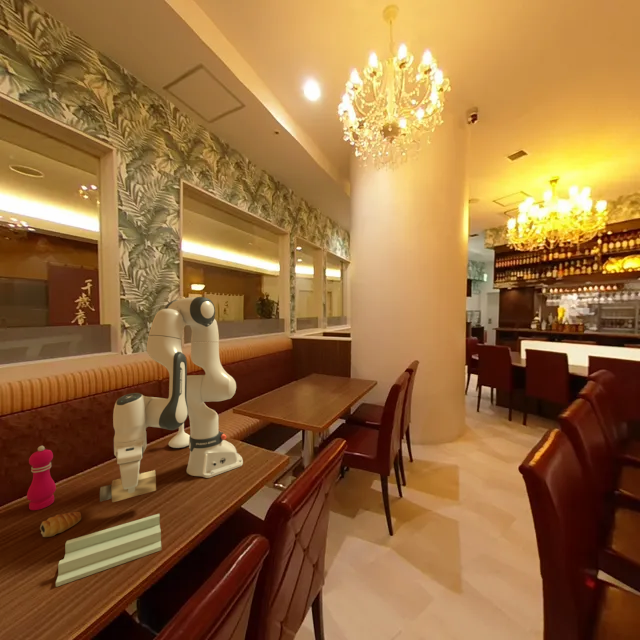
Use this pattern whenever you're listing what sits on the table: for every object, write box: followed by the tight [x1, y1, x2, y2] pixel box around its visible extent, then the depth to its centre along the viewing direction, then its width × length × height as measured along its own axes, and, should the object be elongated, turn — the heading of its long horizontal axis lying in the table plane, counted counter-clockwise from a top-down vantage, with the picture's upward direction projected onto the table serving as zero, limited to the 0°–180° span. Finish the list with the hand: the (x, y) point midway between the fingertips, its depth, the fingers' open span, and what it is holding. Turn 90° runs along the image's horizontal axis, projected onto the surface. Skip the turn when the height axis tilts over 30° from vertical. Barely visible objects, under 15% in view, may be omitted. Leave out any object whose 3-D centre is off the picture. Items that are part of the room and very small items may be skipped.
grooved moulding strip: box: [55, 513, 162, 588], centre depth 82 cm, size 22×14×4 cm, turn 120°
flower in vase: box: [168, 422, 191, 449], centre depth 148 cm, size 13×11×25 cm
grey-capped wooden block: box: [99, 469, 157, 503], centre depth 97 cm, size 15×4×5 cm, turn 121°
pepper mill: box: [26, 445, 57, 511], centre depth 102 cm, size 7×7×20 cm
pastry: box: [39, 511, 82, 538], centre depth 91 cm, size 9×7×4 cm
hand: (131, 487), depth 97 cm, fingers closed on grey-capped wooden block, 4 cm apart
